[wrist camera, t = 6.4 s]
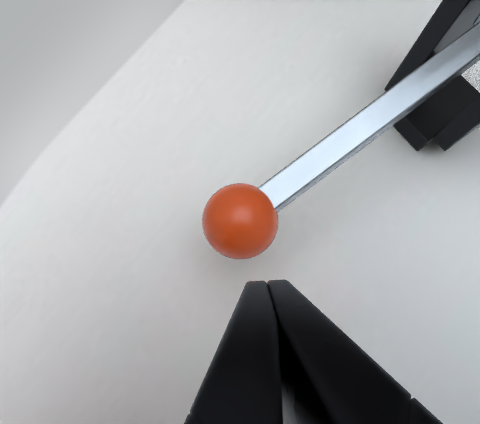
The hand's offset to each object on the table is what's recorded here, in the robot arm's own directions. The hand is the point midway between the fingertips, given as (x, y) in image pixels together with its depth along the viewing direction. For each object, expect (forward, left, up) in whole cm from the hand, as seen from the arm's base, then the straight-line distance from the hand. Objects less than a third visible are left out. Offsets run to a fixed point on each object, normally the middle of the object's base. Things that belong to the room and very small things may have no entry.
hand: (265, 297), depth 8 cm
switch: (+9, +3, -6) cm, 12 cm away
